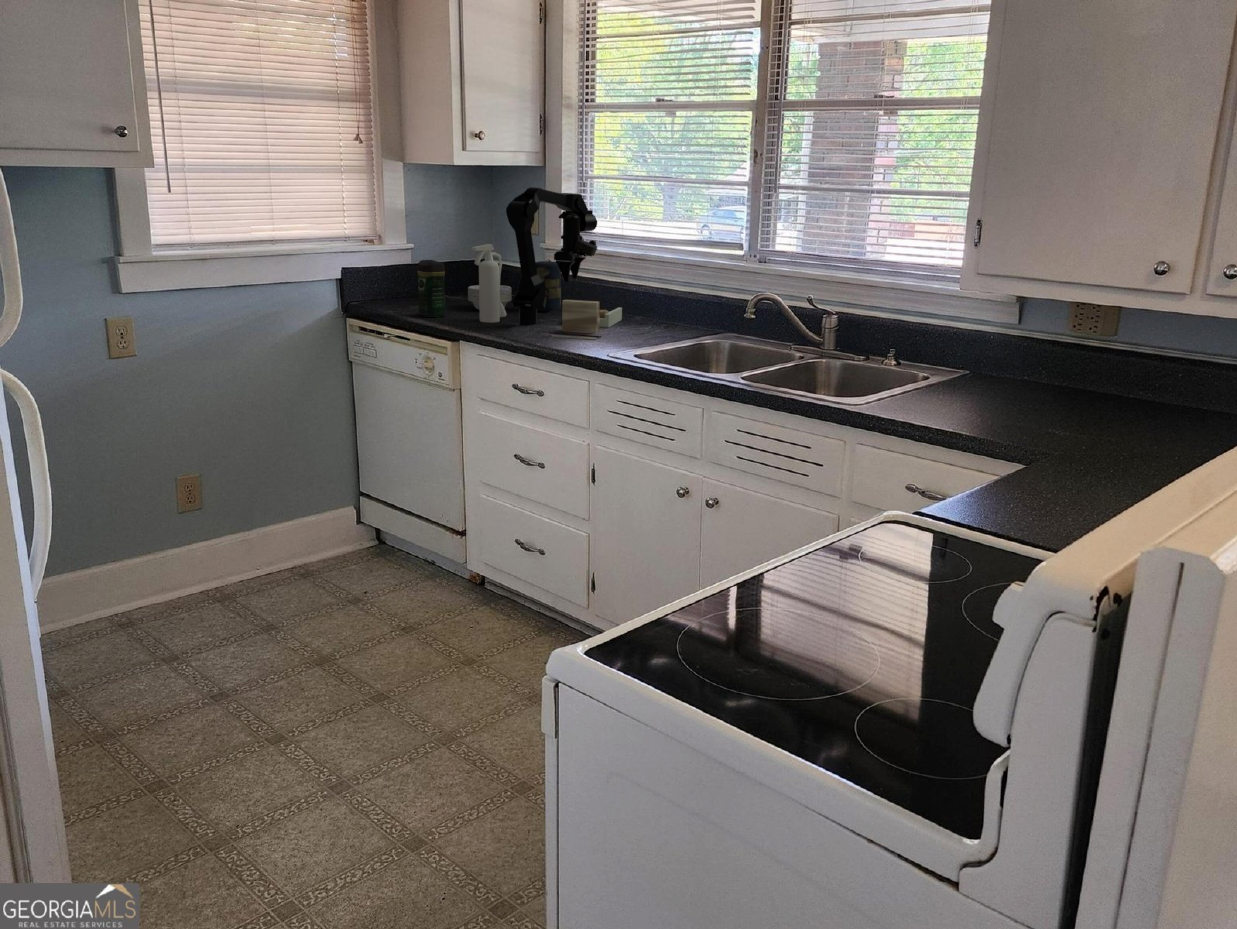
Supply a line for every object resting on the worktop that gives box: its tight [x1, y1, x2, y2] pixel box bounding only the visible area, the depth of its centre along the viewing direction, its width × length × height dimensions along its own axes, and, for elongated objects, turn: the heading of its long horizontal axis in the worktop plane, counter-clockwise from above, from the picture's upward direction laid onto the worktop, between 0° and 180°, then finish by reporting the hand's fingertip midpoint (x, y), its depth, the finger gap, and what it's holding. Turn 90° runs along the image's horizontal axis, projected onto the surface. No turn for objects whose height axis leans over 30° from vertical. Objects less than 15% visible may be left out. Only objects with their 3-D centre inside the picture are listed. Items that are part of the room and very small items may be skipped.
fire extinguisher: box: [471, 243, 507, 324], centre depth 345 cm, size 7×12×25 cm, turn 130°
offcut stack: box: [599, 309, 608, 319], centre depth 341 cm, size 4×11×4 cm, turn 75°
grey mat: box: [551, 332, 603, 341], centre depth 328 cm, size 14×14×1 cm
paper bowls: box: [467, 284, 512, 311], centre depth 373 cm, size 15×15×8 cm
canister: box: [535, 258, 562, 312], centre depth 370 cm, size 10×10×18 cm
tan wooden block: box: [561, 299, 601, 335], centre depth 326 cm, size 3×11×10 cm, turn 75°
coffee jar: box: [416, 259, 447, 318], centre depth 353 cm, size 10×8×19 cm
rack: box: [599, 307, 623, 328], centre depth 345 cm, size 16×15×5 cm
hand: (570, 280), depth 353 cm, fingers open, 9 cm apart
